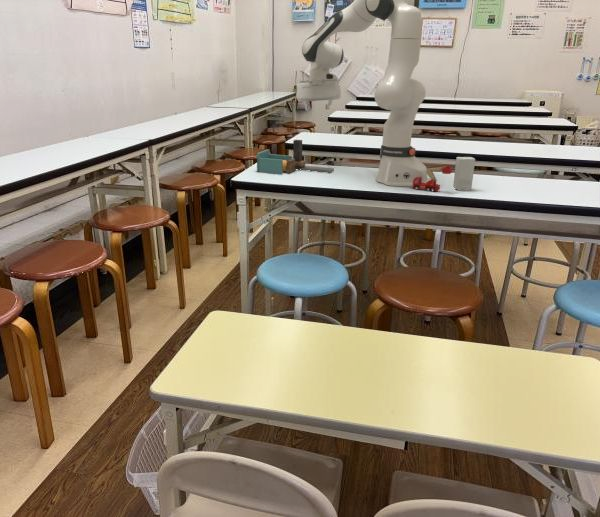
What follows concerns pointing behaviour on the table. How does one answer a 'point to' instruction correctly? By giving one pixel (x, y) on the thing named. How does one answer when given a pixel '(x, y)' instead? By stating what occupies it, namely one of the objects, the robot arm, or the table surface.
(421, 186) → the toy fire truck
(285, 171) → the ball
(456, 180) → the skincare box
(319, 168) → the kicker rail
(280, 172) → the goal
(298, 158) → the slide kicker
